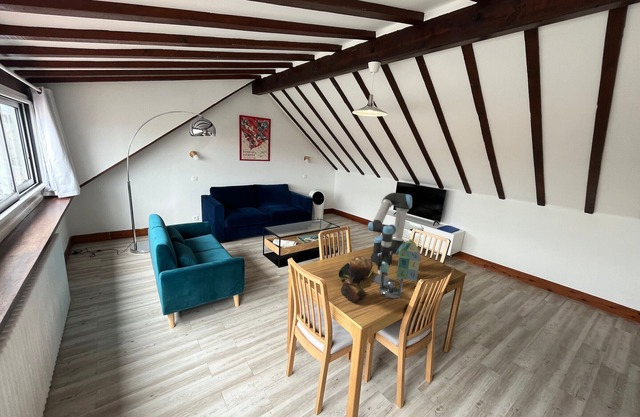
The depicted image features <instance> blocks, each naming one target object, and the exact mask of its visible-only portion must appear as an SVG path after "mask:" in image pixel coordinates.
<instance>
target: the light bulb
mask: <svg viewBox="0 0 640 417" xmlns="http://www.w3.org/2000/svg"><path fill="white" fill-rule="evenodd" d="M387 270H388V271H389V268H388V263H387V262H382V264H381V274H382V272H386V273H387Z"/></svg>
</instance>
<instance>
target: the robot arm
mask: <svg viewBox="0 0 640 417" xmlns="http://www.w3.org/2000/svg"><path fill="white" fill-rule="evenodd" d="M392 206H395V210H396V215H395V219H394V224H393V223H392V224H385V223H384V221H385V219H386V216H387V215H388V212H389V210H390V208H392ZM412 207H413V196H412V195H411V194H407V193H400V192H391V193H388V194H386V195H385V196H384V197H383V199H381V205H380V207H379V209H378V211H377V213H376V215H375V216H374V219H373V220H372V221H370V222H368V225H367V230H368V231H370V232H374V233H379V234H382V235H378V236H376V237H374V240H373V250H372V252H371V256H370V258H369V259H370V260H371V261H372V263H374V264H375V265H376V266H377V273H378V274H380V275H382V273H381V264H382V262H387V263H388V270H387V273H388V274H389V269H390V266H391V265H392V264H393V255H399V249H400V248H401V247H402V246H403V245H404V244H405V243H406V242H404V238H403V235H404V231H405V225H406V218H407V215H408V214H407V213H408V212H409V211H410V209H412Z"/></svg>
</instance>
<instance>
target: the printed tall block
mask: <svg viewBox="0 0 640 417" xmlns="http://www.w3.org/2000/svg"><path fill="white" fill-rule="evenodd" d="M404 243H405V244H404V245H403V246H402V247H401V248H400V249H399V255H398V257H397V258H398V261H397V262H398V263H397V269H396V279H397V278H398V277H399V278H402V279H403V280H408V281H413V282H417V280H418V275H419V274H418V273H419V269H420V268H419V267H420V262H421V261H422V258H421V257H422V256H421V252H420V249H419V248H418V246H417V243H416V242H415V240H414V239H411V238H410V239H408V240H407V241H405V242H404Z"/></svg>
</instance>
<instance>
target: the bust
mask: <svg viewBox="0 0 640 417" xmlns="http://www.w3.org/2000/svg"><path fill="white" fill-rule="evenodd" d="M373 263H374V262H372V261H371V260H370V258H369V257H367V256H364V255H357V256H354V257H353V258H351V260H350V262H349V266H348V268H349V270H350V273H351V275H350V277H349V279H344V281H343V283H342V286H341V288H340V292H341V295H342V296H343V297H344V298H345V299H346V300H347V301H349V302H350V303H353V304H356V303H358V302H359V301H361V300H364V299H365V297H366V296H367V292H366V291H365V290H364V289H363V287H362V286H361V283H362V282H365V281H367V279H368V276H369V274H370V272H371V271H372V269H373V267H374V264H373Z"/></svg>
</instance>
